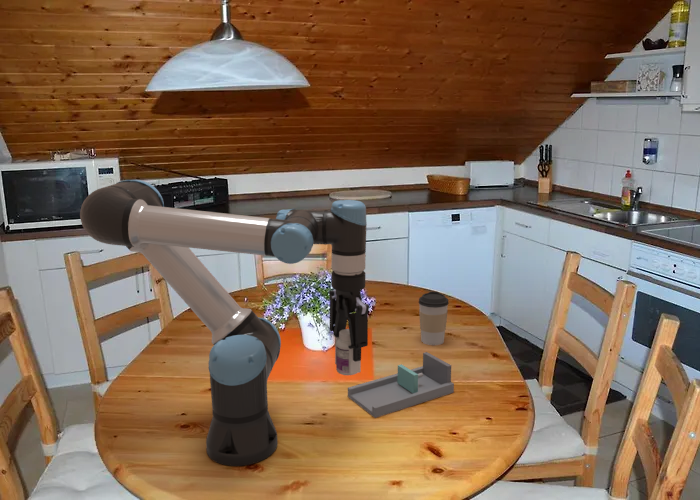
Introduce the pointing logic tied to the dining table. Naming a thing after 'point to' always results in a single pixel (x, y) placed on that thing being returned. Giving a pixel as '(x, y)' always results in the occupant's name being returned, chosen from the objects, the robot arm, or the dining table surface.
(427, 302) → the coffee cup
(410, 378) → the pusher
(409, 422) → the dining table surface
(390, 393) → the lane
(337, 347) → the pill bottle
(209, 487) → the dining table surface
